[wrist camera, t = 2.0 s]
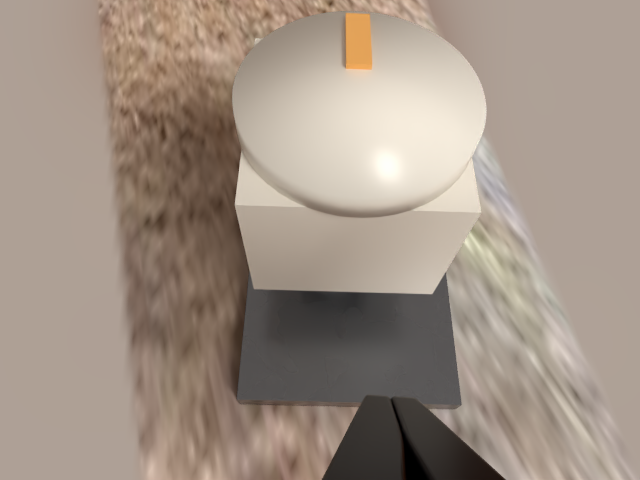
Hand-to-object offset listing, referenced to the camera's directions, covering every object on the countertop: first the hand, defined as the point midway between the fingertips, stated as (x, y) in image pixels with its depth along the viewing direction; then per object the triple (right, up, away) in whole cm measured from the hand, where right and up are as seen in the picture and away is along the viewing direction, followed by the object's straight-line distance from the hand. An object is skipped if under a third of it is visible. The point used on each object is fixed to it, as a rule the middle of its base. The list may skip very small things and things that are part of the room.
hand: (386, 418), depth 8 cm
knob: (0, +4, +12) cm, 13 cm away
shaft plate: (0, +1, +16) cm, 16 cm away
